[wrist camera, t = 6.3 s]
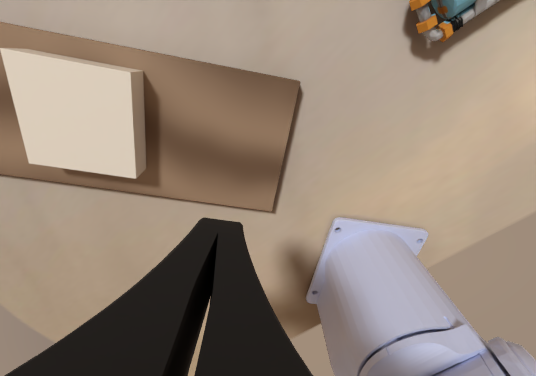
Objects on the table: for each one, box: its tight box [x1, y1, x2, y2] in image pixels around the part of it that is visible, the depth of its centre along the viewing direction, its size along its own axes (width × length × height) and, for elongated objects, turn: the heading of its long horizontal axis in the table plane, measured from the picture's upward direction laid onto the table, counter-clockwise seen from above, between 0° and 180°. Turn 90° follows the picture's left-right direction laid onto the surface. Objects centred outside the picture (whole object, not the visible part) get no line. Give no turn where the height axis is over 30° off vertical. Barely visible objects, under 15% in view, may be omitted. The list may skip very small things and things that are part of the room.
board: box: [0, 22, 300, 212], centre depth 16 cm, size 9×20×1 cm, turn 80°
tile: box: [0, 48, 146, 179], centre depth 15 cm, size 6×2×6 cm
